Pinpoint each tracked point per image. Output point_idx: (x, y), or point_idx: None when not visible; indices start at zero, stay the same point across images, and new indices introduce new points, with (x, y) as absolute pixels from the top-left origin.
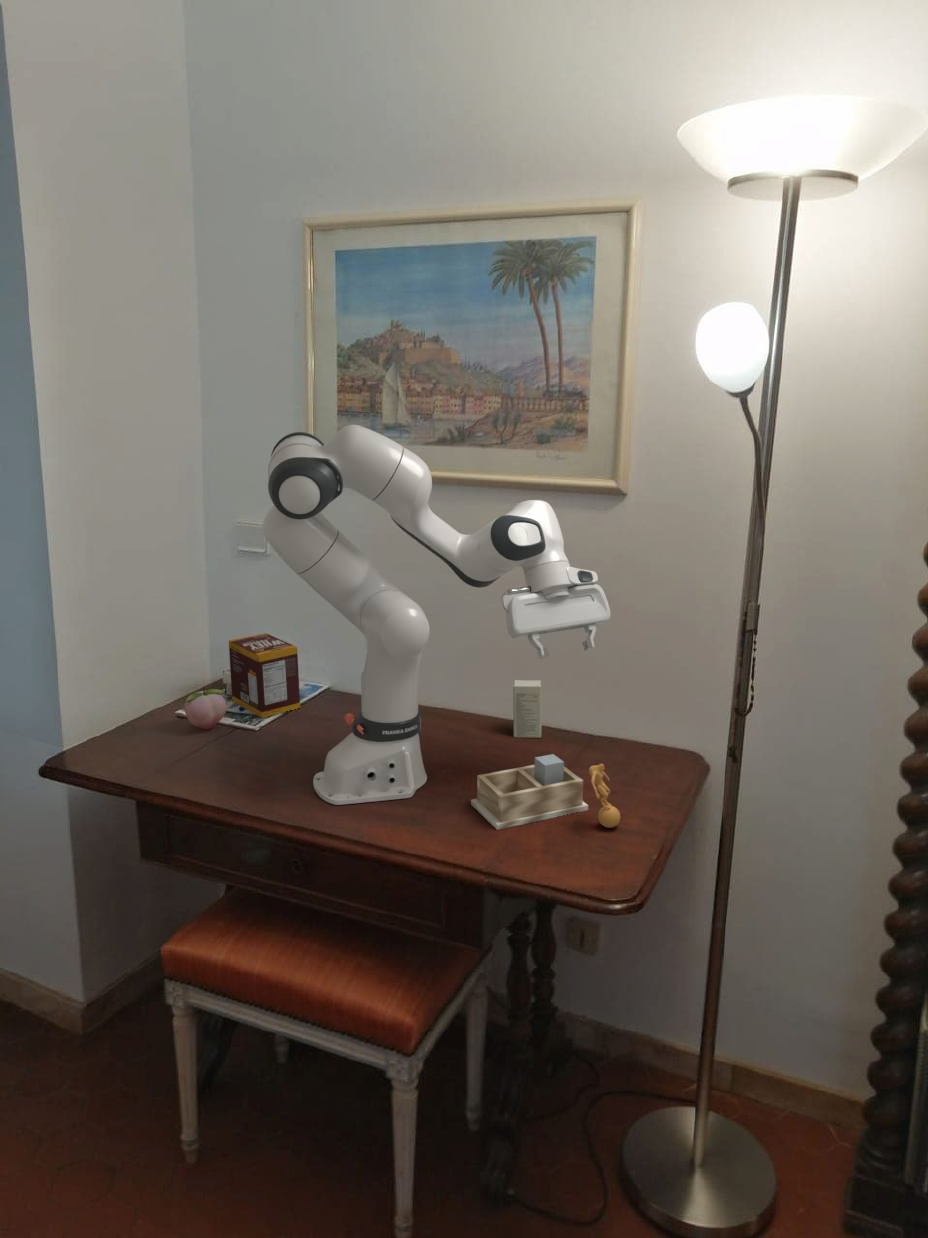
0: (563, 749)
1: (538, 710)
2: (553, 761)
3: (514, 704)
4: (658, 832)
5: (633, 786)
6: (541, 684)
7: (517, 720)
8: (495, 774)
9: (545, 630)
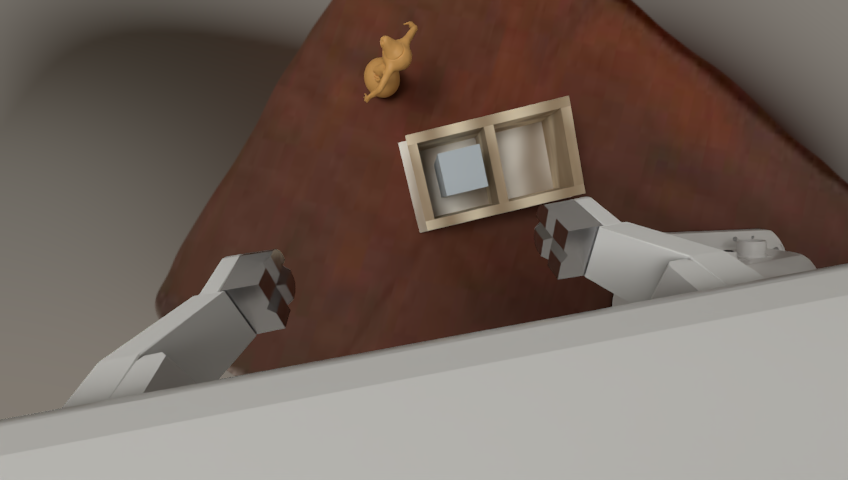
0: None
1: None
2: (457, 160)
3: None
4: (314, 52)
5: (302, 212)
6: None
7: None
8: (552, 191)
9: (657, 299)
